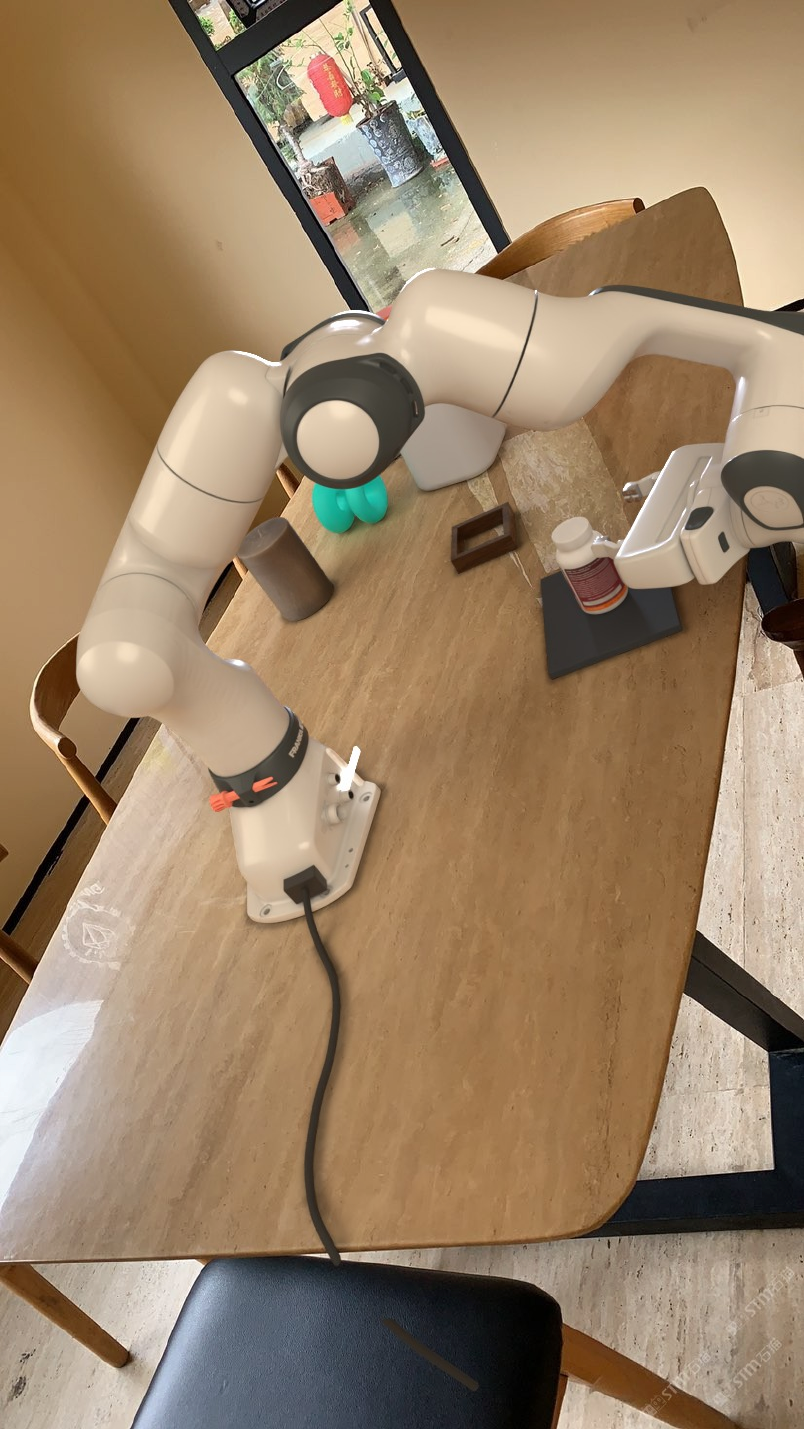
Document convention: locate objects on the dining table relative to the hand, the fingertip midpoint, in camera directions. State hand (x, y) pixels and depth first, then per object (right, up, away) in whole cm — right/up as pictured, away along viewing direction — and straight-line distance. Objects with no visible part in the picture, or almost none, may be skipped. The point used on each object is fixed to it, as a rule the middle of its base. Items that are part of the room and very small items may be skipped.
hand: (610, 519), depth 115 cm
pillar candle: (-38, -3, +54) cm, 66 cm away
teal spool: (-29, +11, +64) cm, 71 cm away
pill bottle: (+2, -8, +12) cm, 14 cm away
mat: (+2, -8, +13) cm, 15 cm away
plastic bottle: (-13, +21, +61) cm, 66 cm away
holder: (-11, +3, +38) cm, 39 cm away
